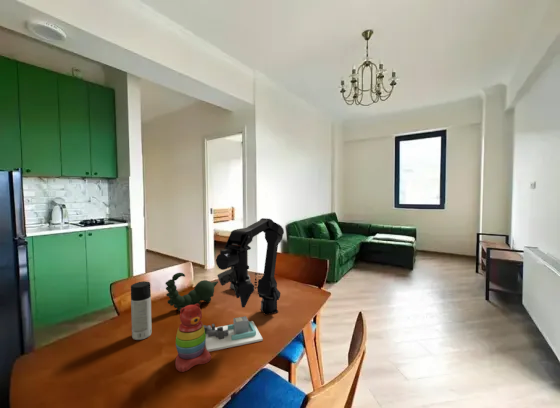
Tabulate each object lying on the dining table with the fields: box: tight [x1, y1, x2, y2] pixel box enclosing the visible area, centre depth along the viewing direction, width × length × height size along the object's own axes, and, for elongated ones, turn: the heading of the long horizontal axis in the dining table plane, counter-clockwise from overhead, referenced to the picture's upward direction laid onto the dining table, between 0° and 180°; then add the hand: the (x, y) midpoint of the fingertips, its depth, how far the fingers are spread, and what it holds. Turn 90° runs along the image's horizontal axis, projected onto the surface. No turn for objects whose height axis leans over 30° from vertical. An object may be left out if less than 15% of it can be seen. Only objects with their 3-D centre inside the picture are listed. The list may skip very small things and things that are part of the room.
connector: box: [232, 315, 250, 335], centre depth 102 cm, size 5×4×5 cm
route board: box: [203, 320, 264, 353], centre depth 101 cm, size 20×14×3 cm
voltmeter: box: [229, 273, 277, 290], centre depth 149 cm, size 27×11×10 cm, turn 91°
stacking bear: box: [175, 303, 212, 373], centre depth 87 cm, size 11×10×18 cm
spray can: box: [130, 281, 152, 341], centre depth 100 cm, size 7×7×20 cm
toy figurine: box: [165, 272, 219, 312], centre depth 126 cm, size 9×19×25 cm
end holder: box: [227, 320, 256, 340], centre depth 102 cm, size 9×9×2 cm
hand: (240, 302), depth 103 cm, fingers open, 9 cm apart
